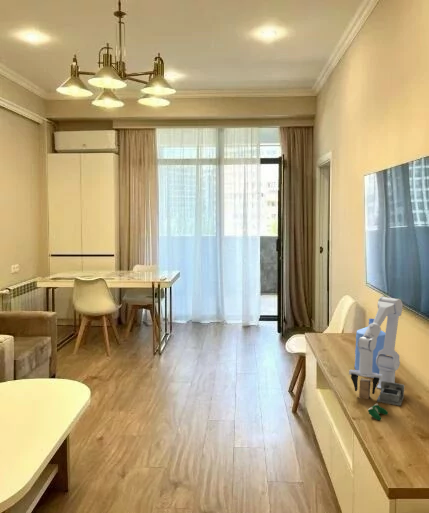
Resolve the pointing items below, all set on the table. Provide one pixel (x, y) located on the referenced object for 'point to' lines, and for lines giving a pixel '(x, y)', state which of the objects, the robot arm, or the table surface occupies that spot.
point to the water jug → (375, 352)
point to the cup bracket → (391, 393)
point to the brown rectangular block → (364, 388)
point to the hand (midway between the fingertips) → (364, 392)
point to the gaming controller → (377, 411)
